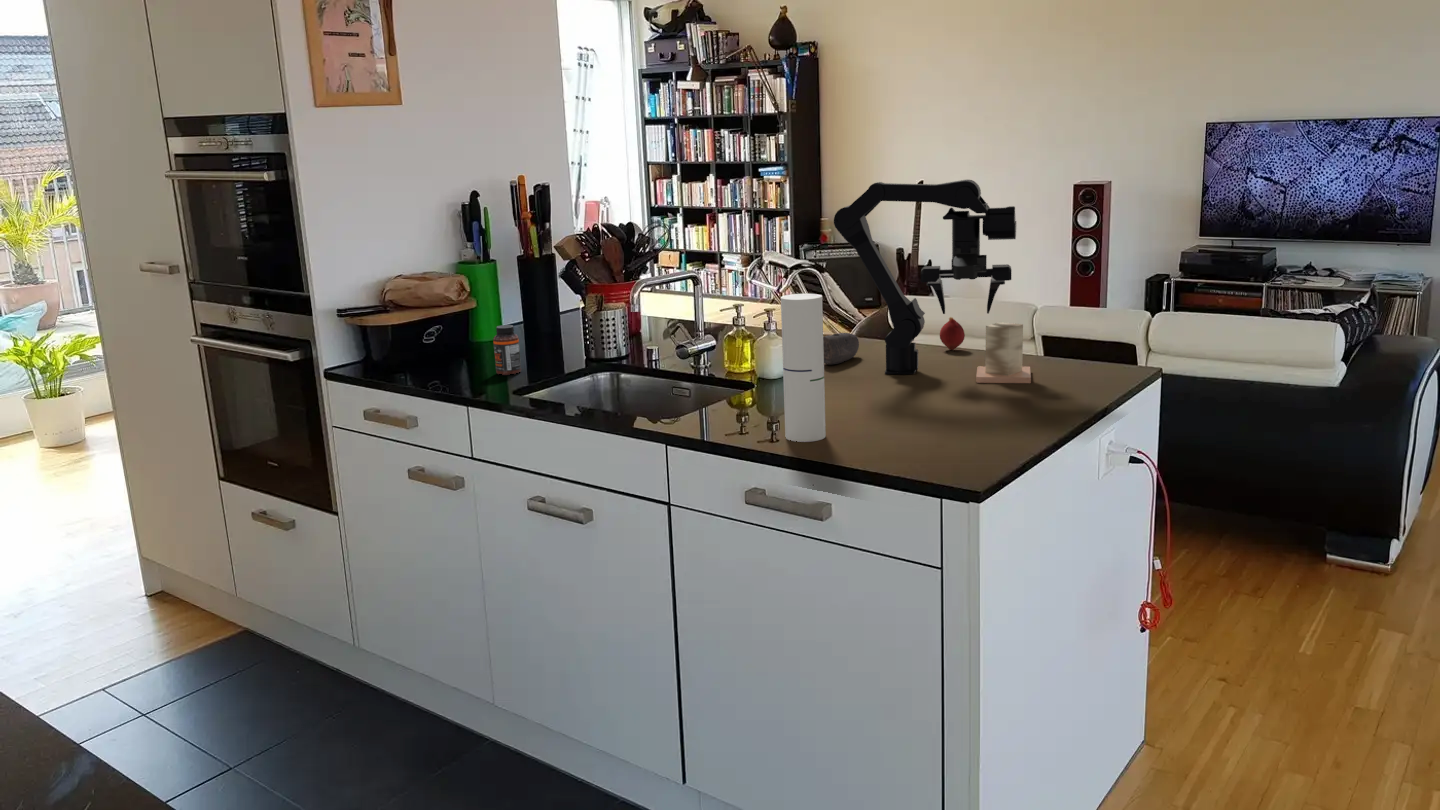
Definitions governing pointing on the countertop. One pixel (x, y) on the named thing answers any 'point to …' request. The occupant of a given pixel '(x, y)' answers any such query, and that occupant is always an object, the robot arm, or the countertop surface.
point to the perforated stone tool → (839, 347)
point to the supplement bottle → (506, 351)
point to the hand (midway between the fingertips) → (965, 313)
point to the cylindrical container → (803, 367)
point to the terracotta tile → (1003, 376)
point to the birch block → (1004, 348)
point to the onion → (952, 334)
